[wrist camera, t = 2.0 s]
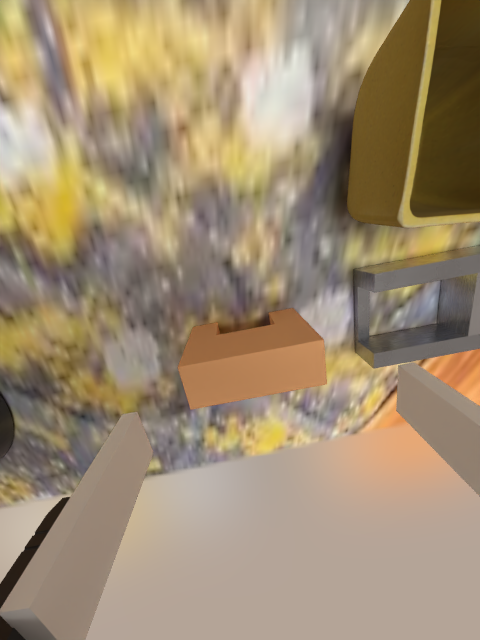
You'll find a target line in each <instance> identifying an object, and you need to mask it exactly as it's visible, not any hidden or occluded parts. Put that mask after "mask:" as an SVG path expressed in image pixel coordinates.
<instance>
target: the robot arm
mask: <svg viewBox="0 0 480 640" xmlns="http://www.w3.org/2000/svg"><path fill="white" fill-rule="evenodd" d="M396 411H397V412H398V413H399V414H400V415H401V416H402V417H403V418H404V419H405V420H406V421H407V422H408V423H409V424H410V425H411V426H412V427H413V428H414V429H415V430H416V431H417V432H418V433H419V435H420V436H421V437H422V438H423V439H424V440H425V441H426V442H427V443H428V444H429V445H430V446H431V447H432V448H433V449H434V450H435V451H436V452H437V453H438V454H439V455H440V456H441V457H442V458H443V459H444V460H445V461H446V462H447V463H448V464H449V465H450V466H451V467H452V468H453V469H454V471H455V472H457V474H458V475H459V476H460V477H461V478H462V479H463V480H464V481H465V482H466V483H467V484H468V485H469V486H470V487H471V488H472V489H473V490H474V491H475V492H476V493H477V494H478V495H479V496H480V406H479V405H477V404H476V403H474V402H473V401H471V400H470V399H468V398H467V397H465V396H464V395H462V394H460V393H459V392H457V391H456V390H454V389H453V388H451V387H450V386H448V385H447V384H445V383H444V382H442V381H441V380H439V379H438V378H436V377H435V376H433V375H432V374H430V373H429V372H427V371H426V370H424V369H423V368H421V367H420V366H418V365H417V364H415V363H409V364H404V365H398V387H397V409H396ZM13 431H14V429H13V421H12V417H11V414H10V411H9V409H8V407H7V405H6V403H5V402H4V400H3V398H2V397H1V395H0V459H1V458H2V457H3V456H4V455H5V454H6V453H7V451H8V450H9V448H10V446H11V443H12V439H13ZM152 456H153V450H152V448H151V445H150V443H149V440H148V438H147V435H146V433H145V430H144V428H143V425H142V423H141V420H140V418H139V415H138V412H132V413H127V414H122V416H121V417H120V419H119V420H118V422H117V424H116V425H115V427H114V428H113V430H112V432H111V433H110V435H109V436H108V438H107V440H106V441H105V443H104V444H103V446H102V448H101V449H100V451H99V452H98V454H97V456H96V457H95V459H94V460H93V462H92V464H91V465H90V467H89V468H88V470H87V472H86V473H85V475H84V476H83V478H82V479H81V481H80V483H79V484H78V486H77V487H76V489H75V491H74V492H73V494H72V495H71V497H66V498H62V499H61V500H60V501H59V503H58V504H56V506H55V507H54V508H53V509H52V510H51V511H50V512H49V513H48V514H47V515H46V517H45V518H44V520H43V521H42V523H41V524H40V526H39V527H38V529H37V530H36V532H35V535H34V536H32V538H31V539H30V541H29V542H28V544H27V545H26V546H25V550H24V551H23V552H21V554H20V556H19V557H18V558H17V560H16V561H15V563H14V564H13V566H12V567H11V569H10V570H9V572H8V573H7V575H6V576H5V578H4V579H3V581H2V582H1V584H0V640H85V639H86V636H87V633H88V631H89V628H90V625H91V622H92V620H93V617H94V614H95V611H96V609H97V606H98V603H99V601H100V598H101V595H102V592H103V590H104V587H105V584H106V581H107V578H108V576H109V573H110V570H111V568H112V565H113V562H114V559H115V557H116V554H117V551H118V549H119V546H120V543H121V540H122V537H123V535H124V532H125V529H126V527H127V524H128V521H129V518H130V516H131V513H132V510H133V508H134V505H135V502H136V499H137V497H138V494H139V491H140V488H141V485H142V483H143V480H144V477H145V475H146V472H147V469H148V467H149V464H150V461H151V458H152Z"/></svg>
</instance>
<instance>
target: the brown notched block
mask: <svg viewBox="0 0 480 640" xmlns="http://www.w3.org/2000/svg"><path fill="white" fill-rule="evenodd" d="M269 320H270V325H267V326H262V327H257V328H251V329H246V330H241V331H236V332H230V333H225V334H220V331H219V326H218V322H216V323H211V324H206V325H200V326H195V327H193V329H192V331H191V334H190V337H189V339H188V342H187V344H186V347H185V350H184V352H183V355H182V357H181V360H180V363H179V365H178V370H179V373H180V376H181V380H182V383H183V386H184V389H185V393H186V396H187V399H188V402H189V406H190V409H197V408H202V407H207V406H213V405H218V404H223V403H229V402H234V401H239V400H245V399H250V398H255V397H261V396H266V395H271V394H277V393H282V392H287V391H293V390H298V389H303V388H309V387H314V386H319V385H325V384H327V379H326V364H325V350H324V339H323V338H322V337H321V336H320V335H319V334H318V333H317V332H316V331H315V330H314V329H313V328H312V327H311V326H310V325H309V324H308V323H307V322H306V321H305V320H304V319H303V318H302V317H301V316H300V315H299V314H298V313H297V312H296V311H295V310H294V309H293V308H290V309H285V310H279V311H274V312H269Z"/></svg>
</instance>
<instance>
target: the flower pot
mask: <svg viewBox="0 0 480 640" xmlns="http://www.w3.org/2000/svg"><path fill="white" fill-rule="evenodd" d="M347 208H348V212H349V214H350V215H351V216H352V218H354V219H355V220H357V221H360V222H363V223H369V224H377V225H385V226H395V227H403V228H416V227H426V226H436V225H448V224H459V223H470V222H480V0H410V1H409V3H408V4H407V6H406V8H405V9H404V11H403V12H402V14H401V15H400V17H399V19H398V20H397V22H396V23H395V25H394V26H393V28H392V30H391V31H390V33H389V34H388V36H387V38H386V39H385V41H384V43H383V44H382V46H381V47H380V49H379V51H378V52H377V54H376V56H375V57H374V59H373V61H372V63H371V65H370V66H369V68H368V70H367V73H366V75H365V77H364V79H363V82H362V85H361V88H360V91H359V94H358V98H357V102H356V107H355V113H354V120H353V130H352V144H351V158H350V171H349V183H348V194H347Z"/></svg>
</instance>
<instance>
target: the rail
mask: <svg viewBox="0 0 480 640" xmlns="http://www.w3.org/2000/svg"><path fill="white" fill-rule="evenodd" d="M438 280H441V289H440V299H439V308H438V318H437V324H433V325H427V326H422V327H417V328H412V329H406V330H401V331H396V332H390V333H385V334H380V335H374V336H369V291H371V292H374V293H375V292H380V291H386V290H391V289H396V288H401V287H407V286H412V285H417V284H423V283H428V282H433V281H438ZM354 313H355V352H356V353H357V354H358V355H359V356H360V357H361V358H362V359H364V360H365V361H366V362H367V363H368V364H369V365H370V366H372V367H373V368H379V367H384V366H390V365H395V364H400V363H406V362H411V361H416V360H422V359H427V358H432V357H438V356H443V355H448V354H454V353H459V352H464V351H470V350H475V349H480V245H478V246H473V247H467V248H462V249H457V250H452V251H446V252H441V253H436V254H431V255H425V256H420V257H415V258H410V259H404V260H399V261H394V262H389V263H383V264H378V265H373V266H368V267H363V268H357V269H354Z"/></svg>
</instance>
